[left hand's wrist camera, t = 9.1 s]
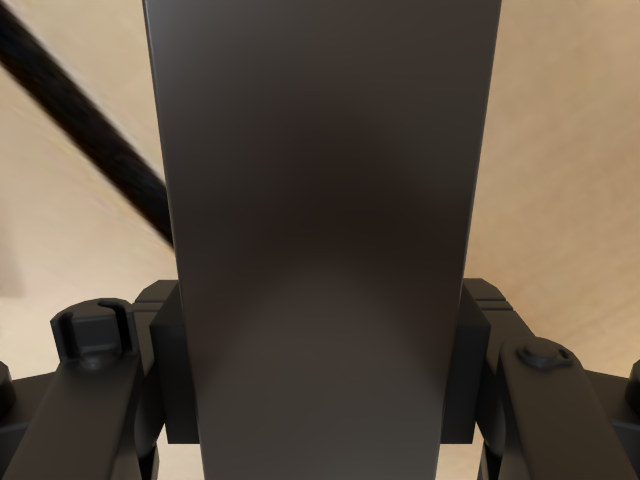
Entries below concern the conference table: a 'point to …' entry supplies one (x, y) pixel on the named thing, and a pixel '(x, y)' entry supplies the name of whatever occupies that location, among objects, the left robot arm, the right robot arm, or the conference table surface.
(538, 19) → the conference table surface
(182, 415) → the left robot arm
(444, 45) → the metal bar
